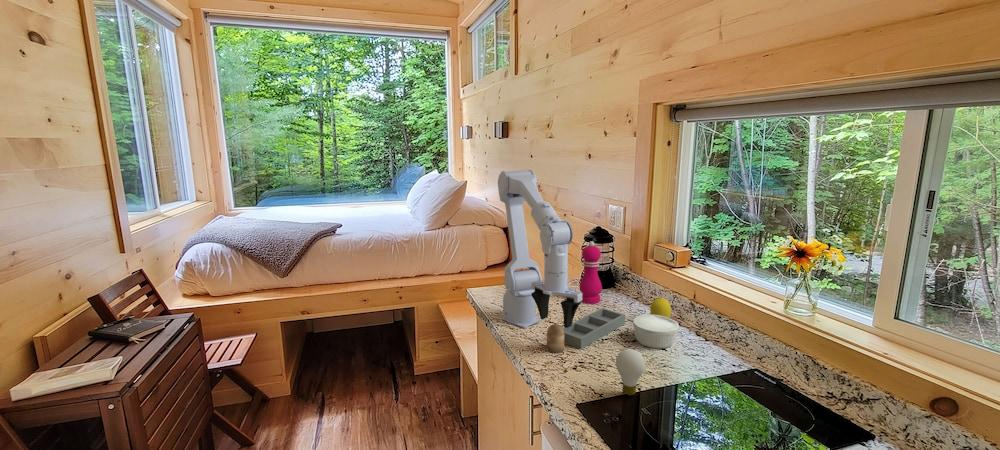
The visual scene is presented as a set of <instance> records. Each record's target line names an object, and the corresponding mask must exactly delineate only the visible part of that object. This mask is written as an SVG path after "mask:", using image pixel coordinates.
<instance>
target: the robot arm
mask: <svg viewBox="0 0 1000 450" xmlns="http://www.w3.org/2000/svg"><path fill="white" fill-rule="evenodd" d="M537 180H538V179H537V176H536V173H535V172H534V170H533V169H526V170H511V171H509V170H508V171H504V170H502V171H501V172H500V174H499V175H498V178H497V188H498V195H499V197H498V198H499V201H500V202H502V203H504V206H505V212H506V220H507V227H508V234H509V242H510V250H511V257H512V258H511V261H509V263H507V265H505V267H504V277H503V279H504V280H503V283H504V286H505V289H506V291H504V293H503V297H502V307H503V308H502V309H503V310H502V311H503V312H502V313H503V315H502V317H501V320H503V321H506V322H507V323H510V324H513V325H515V326H518V327H521V328H523V329H525V328H528V327H531V326H533V325H535V324H537V323H539V322H541V321H542V320H545V319H548V317H549V305H550V304H549V302H550V297H551V295H553V296H558V297H561V298H564V299H565V300H563V301H560V305H561V308H562V313H563V327H565V328H568V327H570V326H571V325H572V323H573V322H574V321H573V320H574V317H575V315H576V312H577V310H578V308H579V306H581V303H582V292H581V291H577V290H575V289H574V288H571V287H570V286H568V271H569V265H568V263H569V261H568V260H569V259H568V258H569V245H570V244H571V243H572V241H573V238H574V232H573V228H572V226H571V224H570V222H569V221H568V220H564V218H560V217H559V215H558V214H557V212H556V210H555V209H554V208H553V206H552V205H551V203H550V202H548V201H544V199H543V197H542V195H541V193H540V191H539V189H538V182H537ZM524 202H526V203H527V204H528V206H529V207H530V208H531V209H530V216H531V217H532V219H533V221H534V223H535V225H536V226H537V227H538V230H539V231H540V232H539V239H540V243H541V250H542V252H543V254H544V256H543V257H544V261H543V263H544V264H543V265H544V269H543V272H544V278H543V276H542V273H541V270H540V267H539V264H538V262H537V261H535V260H533V259H532V258H530V251H529V244H528V243H529V242H528V237H527V236H528V235H527V231H526V229H527V228H526V223H525V214H524V207H523V204H524ZM525 268H526V269H525ZM543 279H544V281H543ZM536 307H537V308H536ZM537 310H538V314H539V316H537V313H536V311H537Z"/></svg>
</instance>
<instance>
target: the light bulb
mask: <svg viewBox="0 0 1000 450" xmlns="http://www.w3.org/2000/svg"><path fill="white" fill-rule="evenodd" d="M615 367H616V370H617V372H618V374H619V375H620V377H621V381H622V392H623V393H624V394H626V395H627V396H632V395H635V394H636V393H637V385H638V382H639V379H640V378H641V376H642V375H643V374H644V373H645V369H646V361H645V358H644V356H643V355H642V353H640V352H639V351H637V350H636V349H632V348H627V349H624V350H622V351H620V352H619V353H618V354H617V356H616V359H615Z"/></svg>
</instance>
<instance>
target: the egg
mask: <svg viewBox="0 0 1000 450" xmlns="http://www.w3.org/2000/svg"><path fill="white" fill-rule="evenodd" d="M546 350H547V352H549V353H552V354H561V353H563V352H565V343H564V329H563V327H562V325H560V324H558V323H554V324H551V325H550V326H548V328H547V331H546Z"/></svg>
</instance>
